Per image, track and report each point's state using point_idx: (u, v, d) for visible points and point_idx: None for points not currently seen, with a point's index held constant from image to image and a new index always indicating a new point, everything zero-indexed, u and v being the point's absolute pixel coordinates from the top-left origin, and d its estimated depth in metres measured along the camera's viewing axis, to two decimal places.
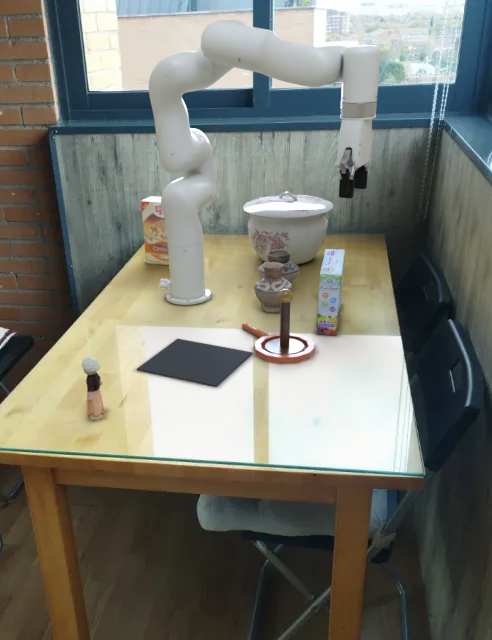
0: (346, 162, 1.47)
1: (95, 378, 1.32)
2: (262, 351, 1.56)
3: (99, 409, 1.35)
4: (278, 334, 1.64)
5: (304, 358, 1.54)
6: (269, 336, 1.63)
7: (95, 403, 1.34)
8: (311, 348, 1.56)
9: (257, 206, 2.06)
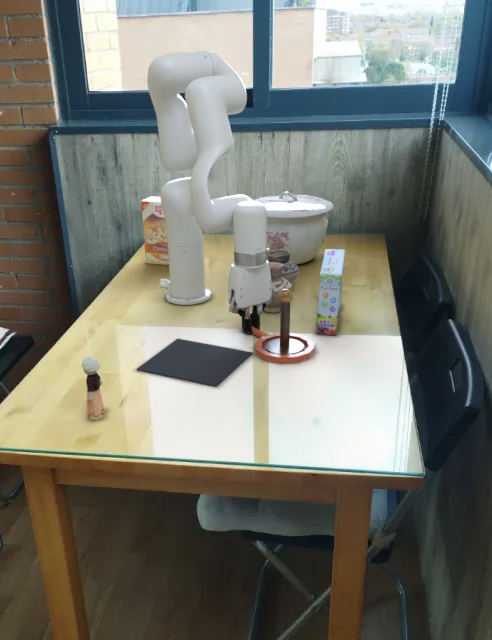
0: (234, 310, 1.63)
1: (95, 378, 1.32)
2: (262, 351, 1.56)
3: (99, 409, 1.35)
4: (278, 334, 1.64)
5: (304, 358, 1.54)
6: (269, 336, 1.63)
7: (95, 403, 1.34)
8: (311, 348, 1.56)
9: None
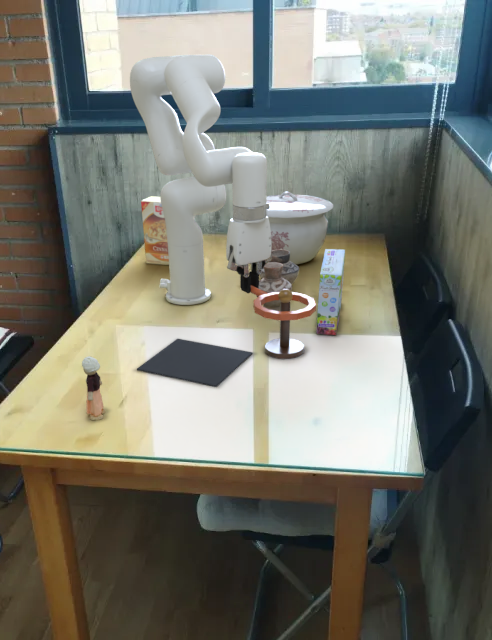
0: (232, 267, 1.58)
1: (95, 378, 1.32)
2: (262, 308, 1.51)
3: (99, 409, 1.35)
4: (278, 292, 1.59)
5: (305, 315, 1.50)
6: (269, 294, 1.58)
7: (95, 403, 1.34)
8: (312, 306, 1.52)
9: None
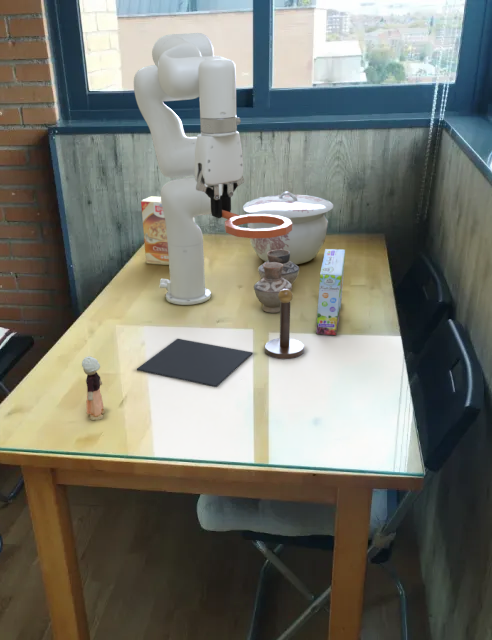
0: (201, 187, 1.47)
1: (95, 378, 1.32)
2: (234, 227, 1.40)
3: (99, 409, 1.35)
4: (251, 215, 1.48)
5: (280, 233, 1.38)
6: (241, 216, 1.47)
7: (95, 403, 1.34)
8: (288, 224, 1.40)
9: (257, 206, 2.06)
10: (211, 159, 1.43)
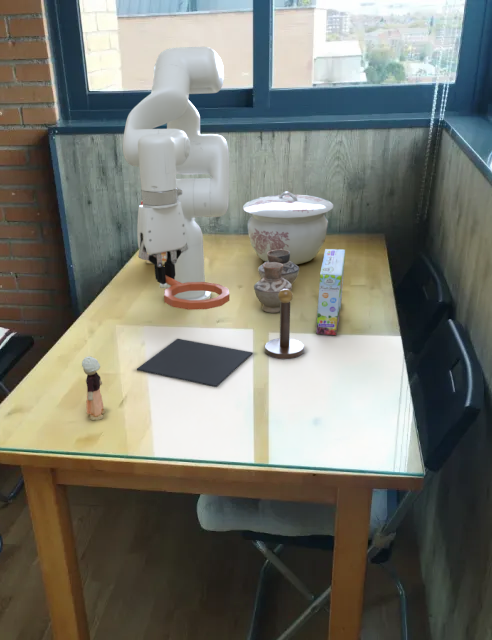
0: (143, 255, 1.50)
1: (95, 378, 1.32)
2: (171, 297, 1.42)
3: (99, 409, 1.35)
4: (192, 283, 1.50)
5: (215, 305, 1.41)
6: (182, 284, 1.49)
7: (95, 403, 1.34)
8: (224, 295, 1.43)
9: (257, 206, 2.06)
10: (152, 230, 1.46)
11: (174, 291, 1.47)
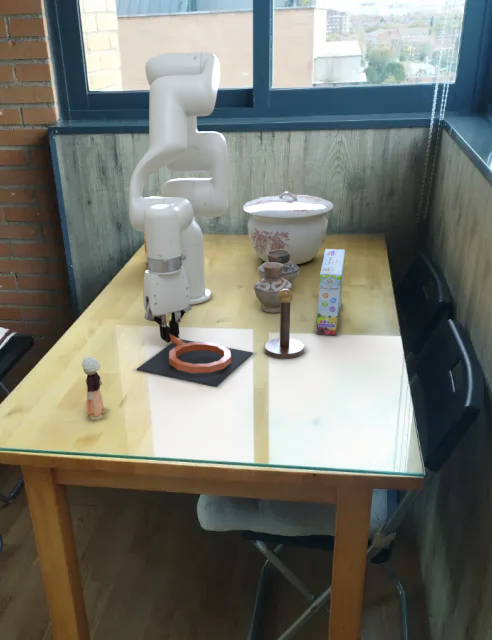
0: (149, 317, 1.57)
1: (95, 378, 1.32)
2: (175, 360, 1.50)
3: (99, 409, 1.35)
4: (196, 343, 1.58)
5: (218, 368, 1.48)
6: (186, 345, 1.57)
7: (95, 403, 1.34)
8: (226, 358, 1.50)
9: (257, 206, 2.06)
10: (157, 294, 1.54)
11: (178, 352, 1.55)
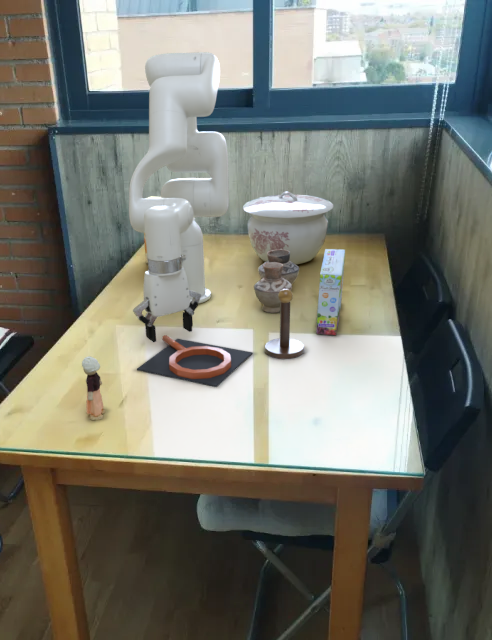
0: (138, 311, 1.55)
1: (95, 378, 1.32)
2: (175, 366, 1.50)
3: (99, 409, 1.35)
4: (196, 347, 1.58)
5: (218, 373, 1.49)
6: (186, 349, 1.58)
7: (95, 403, 1.34)
8: (226, 363, 1.51)
9: (257, 206, 2.06)
10: (157, 295, 1.54)
11: (179, 357, 1.56)
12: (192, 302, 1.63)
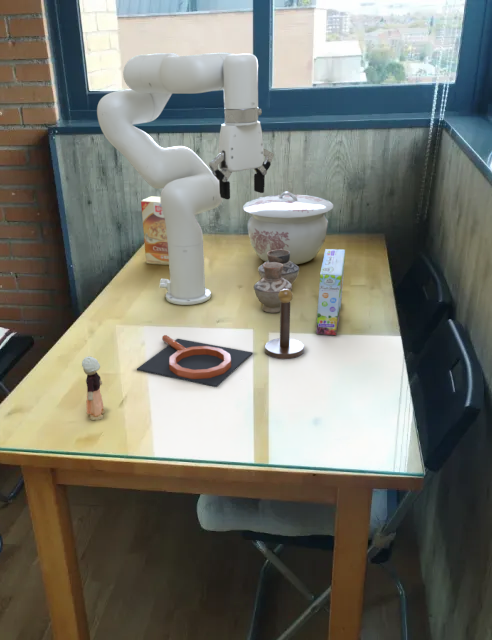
0: (214, 164, 1.56)
1: (95, 378, 1.32)
2: (175, 366, 1.50)
3: (99, 409, 1.35)
4: (196, 347, 1.58)
5: (218, 373, 1.49)
6: (186, 349, 1.58)
7: (95, 403, 1.34)
8: (226, 363, 1.51)
9: (257, 206, 2.06)
10: (234, 147, 1.55)
11: (179, 357, 1.56)
12: (264, 162, 1.63)
